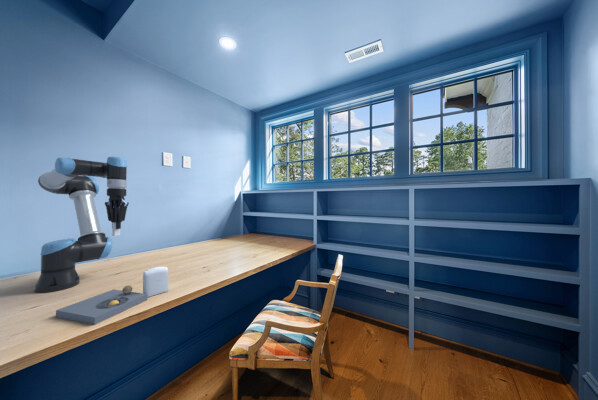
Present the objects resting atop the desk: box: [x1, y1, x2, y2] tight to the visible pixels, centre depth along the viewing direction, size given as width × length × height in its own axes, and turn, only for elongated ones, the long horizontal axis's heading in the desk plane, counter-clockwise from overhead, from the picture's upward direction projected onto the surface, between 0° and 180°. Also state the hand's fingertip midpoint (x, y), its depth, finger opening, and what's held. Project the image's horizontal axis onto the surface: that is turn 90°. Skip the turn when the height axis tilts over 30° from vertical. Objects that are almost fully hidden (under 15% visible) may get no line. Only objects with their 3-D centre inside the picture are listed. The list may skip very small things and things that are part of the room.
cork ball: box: [122, 285, 133, 294], centre depth 96 cm, size 4×4×4 cm
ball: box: [108, 300, 119, 306], centre depth 87 cm, size 4×4×4 cm
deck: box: [55, 289, 149, 326], centre depth 88 cm, size 20×20×2 cm
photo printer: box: [142, 266, 169, 298], centre depth 102 cm, size 10×4×12 cm, turn 140°
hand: (116, 235), depth 108 cm, fingers closed
